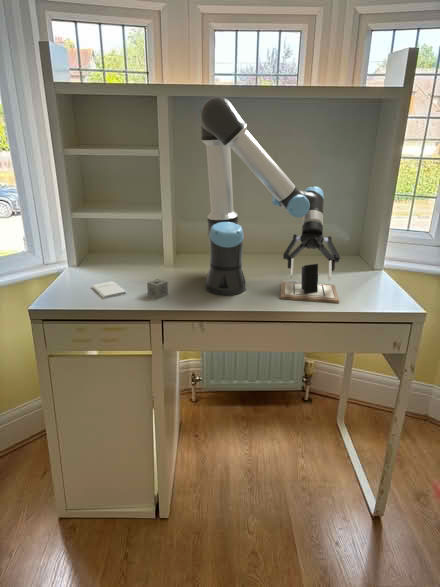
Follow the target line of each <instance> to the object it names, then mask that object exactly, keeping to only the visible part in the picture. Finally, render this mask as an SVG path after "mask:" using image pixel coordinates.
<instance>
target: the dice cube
mask: <svg viewBox="0 0 440 587" xmlns="http://www.w3.org/2000/svg"><path fill="white" fill-rule="evenodd" d="M146 283H147V285H146V286H147V287H146V288H147V296H148V297H151V298H154V299H155V300H160V299H161V298H164V297H167V296H168V295H169V285H168V281H166V280H162V279H160V278H156V279H153V280H150V281H148V282H146Z"/></svg>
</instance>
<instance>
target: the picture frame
mask: <svg viewBox="0 0 440 587" xmlns="http://www.w3.org/2000/svg"><path fill="white" fill-rule="evenodd" d="M301 283H302V281H301V282H299V281H286V280H285V281H284V280H281V281H280V296H279V297H280V300H289V301H290V300H291V301H306V302H318V303H319V302H320V303H330V304H331V303H334V304H339V303H340V299H339V295H338V291H337V288H336V284H331V283H330V284H329V283H318V290H317V292H315V293H308V294H304V290H303V289H302V288H301Z"/></svg>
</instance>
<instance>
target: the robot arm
mask: <svg viewBox="0 0 440 587" xmlns="http://www.w3.org/2000/svg"><path fill="white" fill-rule="evenodd" d="M198 119H199V124H200V135H201V142H202V143H203V144H204V145H205V146H206V159H207V160H206V162H207V175H208V187H209V188H208V190H209V203H210V204H209V205H210V213H209V214H208V215H207V237H208V240H209V268H208V269H209V270H208V273H207V276H206V279H205V283H204V284H205V285H204V288H205V290H206V291H207V292H208V293H211V294H214V295H220V296H233V295H239V294H241V293H244V292H245V291H246V287H247V281H246V278H245V274H244V271H243V247H244V246H243V245H244V243H243V242H244V230H243V228H242V226H241V225H240V224H239V217H238V216H239V215H238V213H237V212H236V211H235V210H234V194H233V192H234V191H233V175H232V174H233V173H232V170H233V169H232V154H231V153H232V152H231V151H233V152H234V153H235V154H236V155H237V156H238V158H239V159H240V160H241V161H242V162H243V163H244V164H245V165H246V167H247V168H249V170H250V171H251V172H252V173H253V174H254V176H255V177H256V178H257V179H258V180H259V181H260V182H261V184H263V185H264V187H266V189H267V190H268V191H269V192H270V193H271V194H272V197H271V202H272V203H271V204H272V205H273V206H275V207H278V208H284V209H285V211H287V213H288V214H289V215H290V216H291V217H294V218H302V224H301V225H302V227H301V235H300V236H299V235H297V234H293V237H292V240H291V242H290V243H289V244H288V246H287V247H286V249H285V251H284V253H283V254H282V259H283V260H287V269H290V272H289V273H290V274H289V278H290V279H292V278H293V274H294V260H295V259H294V258H295V257H297V255H298V254H300V252H302V251H303V250H304V249H308V250H310V249H312V250H313V249H314V250H316V249H317V250H318V251H320V253H321V254H322V255H323V256H324V257H325V258H326V260H328V266H327V267H328V272H327V273H328V274H327V276H328V278H327V280H328V281H331V279H332V272H334V271H335V269H336V268H335V267H336V265H335V264H336V263H339V262H340V260H341V256H340V255H339V253H338V251H337V248H336V247H335V245H334V243H333V238H332V236H330V235H329V236H328V237H324V234H323V233H324V230H323V228H324V202H325V198H324V196H325V195H324V191H323V190H322V188H320V187H319V186H313V187H312V186H309V187H307V188H305V189H304V190H299V188H297V187H296V185H295V184H294V182H292V181H291V179H290V178H289V177H288V175H287V174H286V173H284V171H283V169H282V168H281V167H280V166H279V165H278V164H277V163H276V162H275V160H274V159H273V158H272V157H271V156H270V155H269V153H268V152H266V150H265V149H264V148H263V147H262V146H261V145H260V144H259V142H258V140H256V139H255V137H254V136H253V135H252V134H251V133H250V132H249V130H248V129H247V126H248V124H247V123H246V121H245V120H243V118H242V117H241V115H240V114H239V112H238V111H237V110H236V108H235V106H234V105H233V104H232V102H231V101H229V99H227V98H225V97H222V96H213V97H211V98H209V99H207V100H206V101H205V102H203V104H202V106H200V109H199V113H198ZM299 241H300V242H301V243H300V244H299V245H298V246H297V247H296V248H295V249H294V250H293V248H294V247H295V246H296V243H298V242H299ZM324 243H325V244H326V245H327V247H328V249H329V250H328V249H327V247H325V245H324ZM292 250H293V251H292Z"/></svg>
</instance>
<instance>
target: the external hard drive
mask: <svg viewBox="0 0 440 587" xmlns="http://www.w3.org/2000/svg"><path fill="white" fill-rule="evenodd" d="M91 287H93V288H94V289H95V290H96V291H97V292H98V293H99V294H98V293H97V292H96V291H95V290H94V289H93V288H92V289H93V290H94V291H95V292H96V293H97V294H98V295H99V296H100V297H101V298H102V299H104V298H105V299H107V298H106V297H110V298H113V297H112V296H114V297H117V296H116V295H119V296H122V295H121V294H123V295H126V294H127V291H126V290H124V289H123V288H122V287H121V286H119V284H117V283H115V281H112V280H111V281H107V282H101V283H96V284H93V285H91Z"/></svg>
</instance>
